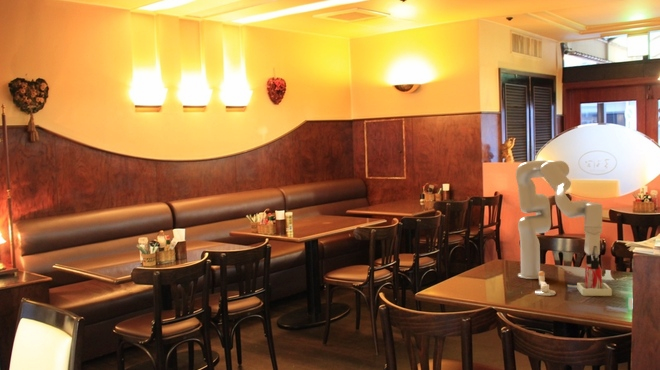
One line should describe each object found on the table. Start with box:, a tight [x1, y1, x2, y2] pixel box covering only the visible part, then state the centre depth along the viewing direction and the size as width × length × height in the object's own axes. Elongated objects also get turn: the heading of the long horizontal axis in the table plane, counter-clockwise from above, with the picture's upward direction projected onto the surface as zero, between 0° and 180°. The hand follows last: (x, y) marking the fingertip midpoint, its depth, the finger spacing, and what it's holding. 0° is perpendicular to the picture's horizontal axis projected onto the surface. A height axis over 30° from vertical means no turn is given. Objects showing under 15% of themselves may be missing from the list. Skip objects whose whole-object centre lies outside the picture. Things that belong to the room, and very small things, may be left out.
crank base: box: [534, 288, 556, 297], centre depth 294 cm, size 9×9×1 cm
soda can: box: [584, 264, 603, 289], centre depth 293 cm, size 7×7×12 cm
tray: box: [576, 282, 613, 297], centre depth 293 cm, size 12×12×3 cm
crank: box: [538, 270, 550, 292], centre depth 299 cm, size 4×13×7 cm, turn 170°
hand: (592, 266), depth 293 cm, fingers open, 9 cm apart
